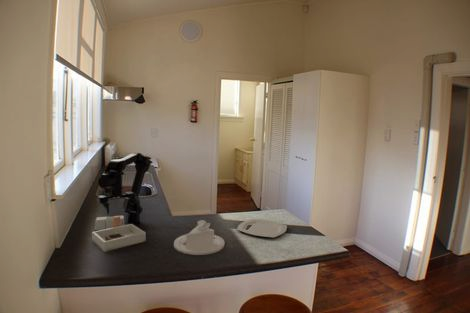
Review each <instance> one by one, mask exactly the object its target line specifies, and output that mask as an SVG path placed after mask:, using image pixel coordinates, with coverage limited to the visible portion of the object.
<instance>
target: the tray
mask: <svg viewBox="0 0 470 313" xmlns="http://www.w3.org/2000/svg"><path fill="white" fill-rule="evenodd" d="M115 233H121V234H122V235H123V236H125V237H121V238H118V237H117V239H114V238H113V240H108V241H106V240H105V236H106V235H110V234H115ZM146 236H147V235H146V231H144V230H142V229H141V228H139V227H138V226H136V225H135V224H128V223H127V224H124V225H123V226H119V227H114V228H109V229H104V230H95V231H92V232H91V241H92V242H93V243H94V244H95V245H96V246H97V247H98V248H99V249H101V250H102V252H104V253H106V252H109V251H114V250H117V249H121V248H125V247H129V246H131V245H135V244H139V243H140V244H141V243H145V242H147V241H146Z"/></svg>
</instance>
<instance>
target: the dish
mask: <svg viewBox="0 0 470 313" xmlns="http://www.w3.org/2000/svg"><path fill="white" fill-rule="evenodd" d="M196 222H197V225H196V226H195V227H194V228H193V229H192V230H191V231H190V232H189V233H186V234H183V235H181V236H179V237H177V238H175V240H174V241H173V247H174V249H175V250H176V251H178V252H180V253H183V254H187V255H193V256H194V255H195V256H204V255H205V256H206V255H209V254H210V255H211V254H215V253H217V252H220V251H221V250H223V249H224V247H225V244H226V242H225V240H224V238H222V237H221V236H219V235H218V234H217V235H216V234H215V229H212V228H209V227H210V225H211V222H207V221H206V220H202V219H201V220H198V221H196ZM214 238H215V239H214Z"/></svg>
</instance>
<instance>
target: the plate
mask: <svg viewBox="0 0 470 313" xmlns="http://www.w3.org/2000/svg"><path fill="white" fill-rule="evenodd" d="M248 225H252V226H251V227H250V228H249V229H248V230H246V228H247V226H248ZM287 229H288V225H287V224H284V223H281V222H277V221H273V220H268V219H259V218H251V219H246V220H244V221H243V222H240V223H239V224H238V226H237V228H236V230H237V231H240V232H242V233H244V234H248V235H250V236H255V237H260V238H261V237H263V238H277V237H279V236H281V235H283V234H284V233H286V232H287Z"/></svg>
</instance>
